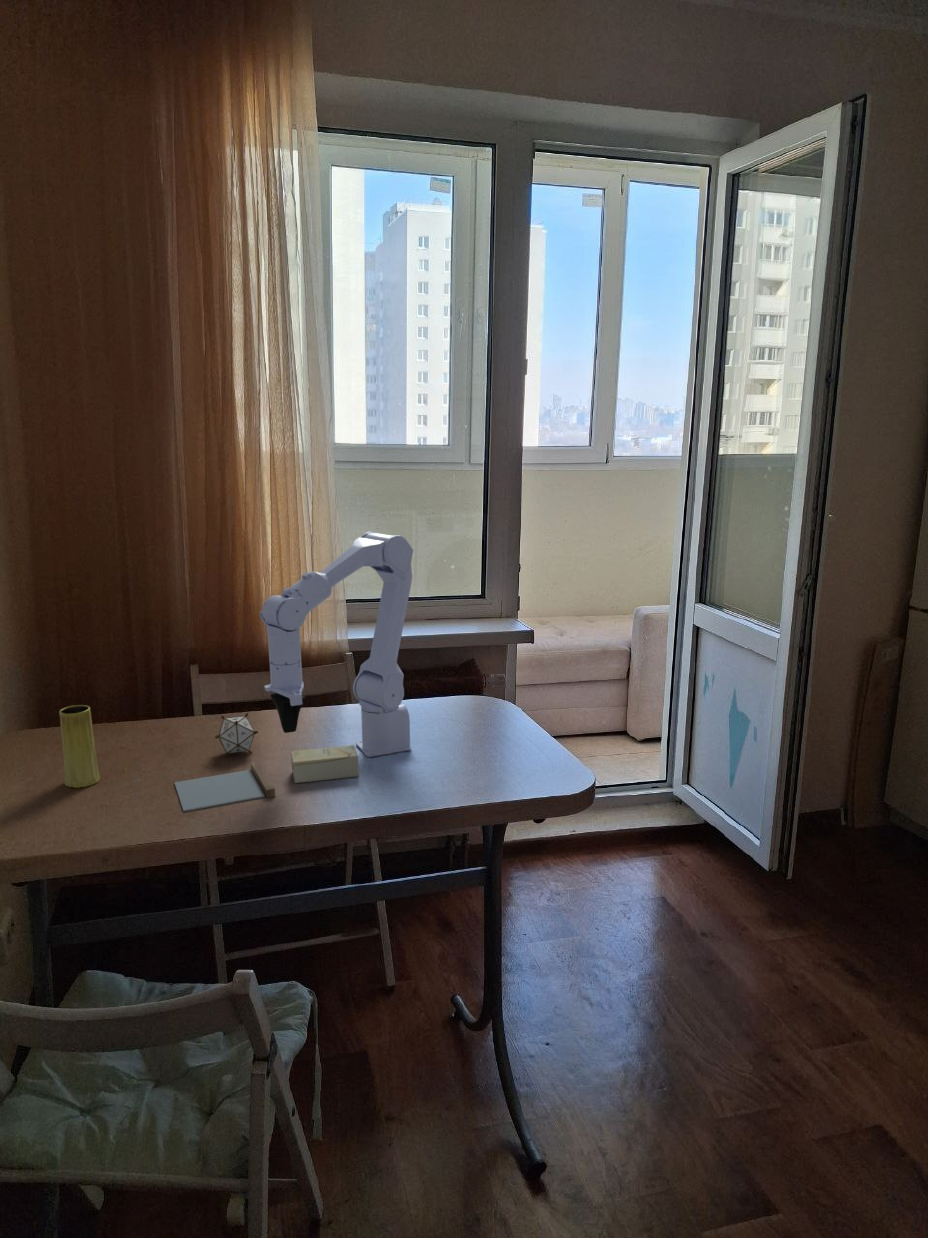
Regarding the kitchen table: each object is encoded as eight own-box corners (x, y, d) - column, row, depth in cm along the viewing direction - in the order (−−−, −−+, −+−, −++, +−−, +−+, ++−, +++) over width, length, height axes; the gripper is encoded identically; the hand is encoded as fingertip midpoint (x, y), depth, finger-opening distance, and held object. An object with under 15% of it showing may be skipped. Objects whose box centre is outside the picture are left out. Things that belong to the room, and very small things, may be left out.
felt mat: (250, 771, 167) (250, 769, 167) (264, 797, 155) (264, 795, 155) (174, 784, 161) (174, 782, 161) (183, 812, 150) (183, 810, 150)
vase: (107, 777, 164) (99, 705, 161) (83, 790, 159) (75, 716, 156) (81, 773, 166) (73, 702, 163) (57, 786, 161) (48, 712, 157)
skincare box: (290, 751, 166) (353, 743, 169) (291, 772, 167) (354, 764, 170) (293, 763, 160) (358, 754, 163) (294, 785, 161) (360, 776, 164)
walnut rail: (259, 768, 168) (258, 761, 168) (275, 796, 156) (274, 788, 155) (251, 770, 168) (250, 762, 167) (266, 798, 155) (266, 790, 155)
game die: (243, 773, 175) (243, 746, 168) (206, 756, 176) (204, 729, 169) (265, 740, 181) (266, 712, 174) (229, 723, 182) (229, 696, 175)
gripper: (255, 654, 164) (260, 722, 167) (272, 674, 151) (276, 747, 154) (292, 649, 166) (296, 716, 169) (312, 669, 153) (315, 741, 157)
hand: (289, 731), depth 162 cm, fingers closed
